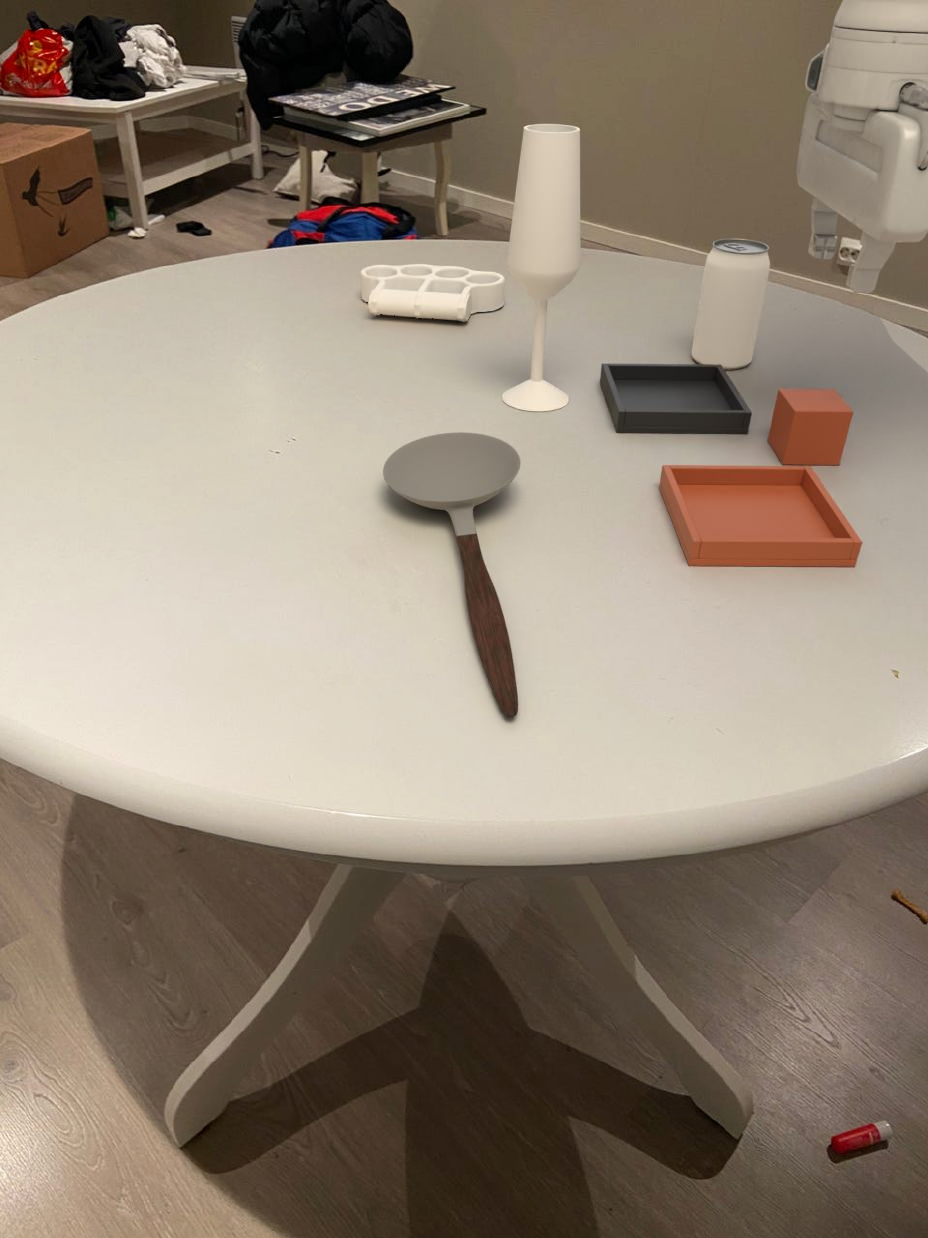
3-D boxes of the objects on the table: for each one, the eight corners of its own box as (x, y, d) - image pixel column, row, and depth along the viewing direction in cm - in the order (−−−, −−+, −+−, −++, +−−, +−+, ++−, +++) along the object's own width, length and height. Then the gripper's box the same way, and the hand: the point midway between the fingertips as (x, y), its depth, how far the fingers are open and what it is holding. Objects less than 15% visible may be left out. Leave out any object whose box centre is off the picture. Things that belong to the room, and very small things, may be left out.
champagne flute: (574, 410, 92) (598, 134, 78) (505, 411, 92) (516, 134, 78) (563, 384, 97) (584, 122, 84) (498, 385, 97) (508, 121, 83)
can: (714, 374, 100) (734, 256, 93) (678, 354, 105) (695, 240, 98) (763, 366, 103) (787, 250, 96) (726, 346, 107) (746, 234, 100)
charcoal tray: (717, 384, 98) (721, 364, 97) (747, 433, 88) (752, 412, 87) (599, 382, 98) (601, 363, 97) (616, 432, 88) (618, 411, 87)
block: (821, 441, 87) (834, 388, 84) (839, 465, 83) (854, 411, 80) (767, 440, 87) (778, 388, 84) (782, 465, 83) (794, 410, 80)
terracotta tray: (804, 488, 79) (810, 465, 78) (855, 566, 69) (862, 542, 68) (658, 487, 79) (662, 464, 78) (688, 565, 69) (693, 541, 68)
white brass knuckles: (343, 318, 113) (373, 283, 125) (492, 329, 111) (509, 293, 123) (341, 290, 111) (372, 257, 123) (493, 300, 109) (511, 266, 121)
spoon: (509, 457, 82) (507, 425, 80) (604, 724, 56) (605, 687, 54) (383, 472, 81) (378, 441, 79) (420, 751, 55) (415, 714, 54)
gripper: (996, 95, 60) (929, 314, 68) (879, 62, 77) (836, 241, 85) (897, 93, 60) (842, 313, 68) (801, 60, 77) (766, 240, 85)
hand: (838, 273), depth 77 cm, fingers open, 8 cm apart
